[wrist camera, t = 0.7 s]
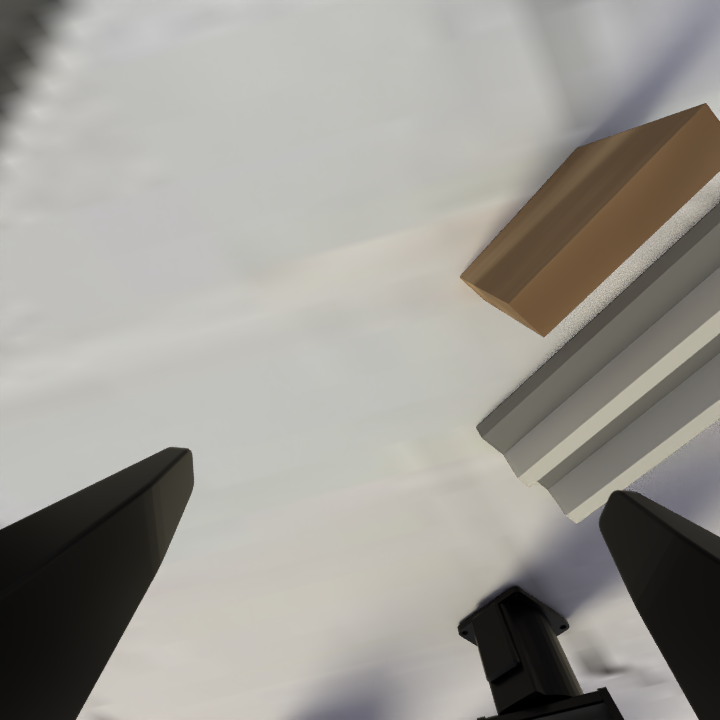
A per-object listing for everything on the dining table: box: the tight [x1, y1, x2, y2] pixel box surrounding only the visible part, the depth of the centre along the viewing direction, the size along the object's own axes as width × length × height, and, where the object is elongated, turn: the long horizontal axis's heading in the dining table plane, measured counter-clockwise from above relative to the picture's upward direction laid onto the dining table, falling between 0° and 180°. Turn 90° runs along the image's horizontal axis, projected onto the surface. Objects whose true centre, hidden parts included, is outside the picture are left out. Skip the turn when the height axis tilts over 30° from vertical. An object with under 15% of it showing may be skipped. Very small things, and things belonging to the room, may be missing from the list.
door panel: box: [460, 103, 720, 337], centre depth 16 cm, size 2×8×7 cm, turn 141°
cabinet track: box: [476, 203, 720, 524], centre depth 20 cm, size 9×20×3 cm, turn 140°
